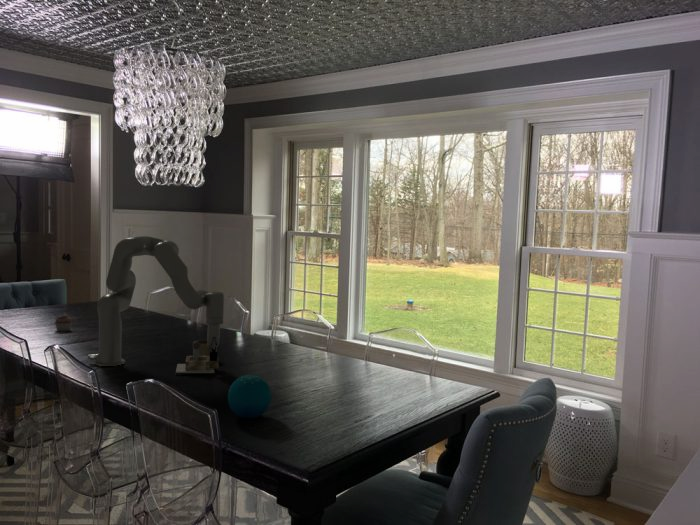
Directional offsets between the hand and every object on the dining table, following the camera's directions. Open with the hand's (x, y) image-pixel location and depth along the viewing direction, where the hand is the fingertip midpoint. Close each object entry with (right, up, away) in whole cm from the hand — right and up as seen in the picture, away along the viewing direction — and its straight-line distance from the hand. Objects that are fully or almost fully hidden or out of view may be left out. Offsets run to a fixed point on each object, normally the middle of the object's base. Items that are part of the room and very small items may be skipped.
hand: (213, 358), depth 267 cm
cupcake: (-97, +4, +65) cm, 117 cm away
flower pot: (-9, -4, +18) cm, 21 cm away
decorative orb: (+25, -12, -56) cm, 63 cm away
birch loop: (-5, -4, -1) cm, 6 cm away
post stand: (-8, -6, -1) cm, 9 cm away
